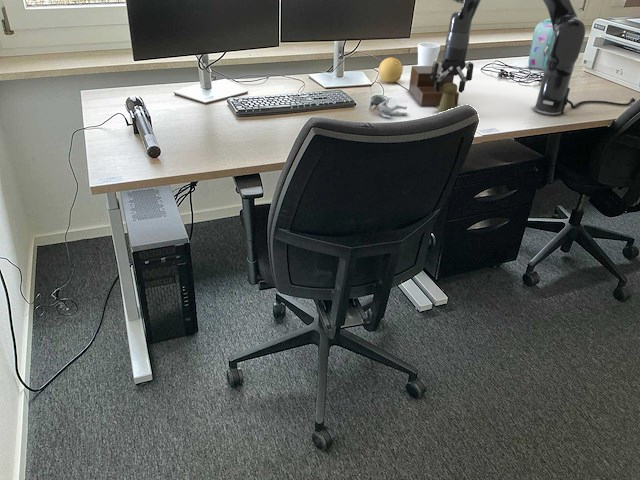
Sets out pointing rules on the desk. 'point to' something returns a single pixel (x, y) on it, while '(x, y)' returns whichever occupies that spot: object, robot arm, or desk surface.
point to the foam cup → (427, 53)
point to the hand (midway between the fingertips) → (448, 92)
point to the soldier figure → (388, 109)
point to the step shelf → (427, 86)
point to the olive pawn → (448, 97)
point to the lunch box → (541, 44)
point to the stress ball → (390, 69)
